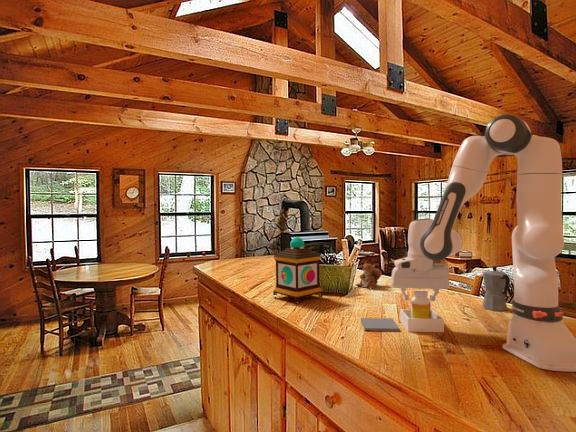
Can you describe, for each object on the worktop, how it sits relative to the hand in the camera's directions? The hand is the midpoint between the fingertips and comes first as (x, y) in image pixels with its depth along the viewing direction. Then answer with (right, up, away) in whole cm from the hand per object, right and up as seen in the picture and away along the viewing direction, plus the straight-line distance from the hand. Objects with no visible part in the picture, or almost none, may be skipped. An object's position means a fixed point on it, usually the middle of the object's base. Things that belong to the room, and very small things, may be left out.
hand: (419, 300), depth 134 cm
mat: (-14, -10, +1) cm, 17 cm away
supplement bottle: (+1, -10, 0) cm, 10 cm away
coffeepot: (+40, -9, +21) cm, 46 cm away
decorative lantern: (-43, -9, +44) cm, 63 cm away
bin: (+1, -9, 0) cm, 9 cm away
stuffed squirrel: (-3, -8, +68) cm, 69 cm away
